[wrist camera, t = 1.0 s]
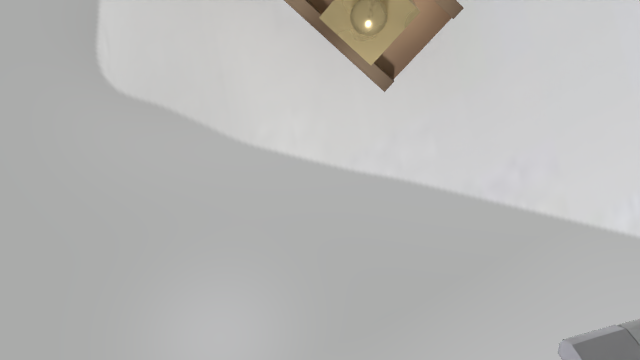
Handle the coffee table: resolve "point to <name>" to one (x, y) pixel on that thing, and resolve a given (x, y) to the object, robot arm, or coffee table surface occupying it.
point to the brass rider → (369, 23)
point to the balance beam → (434, 14)
